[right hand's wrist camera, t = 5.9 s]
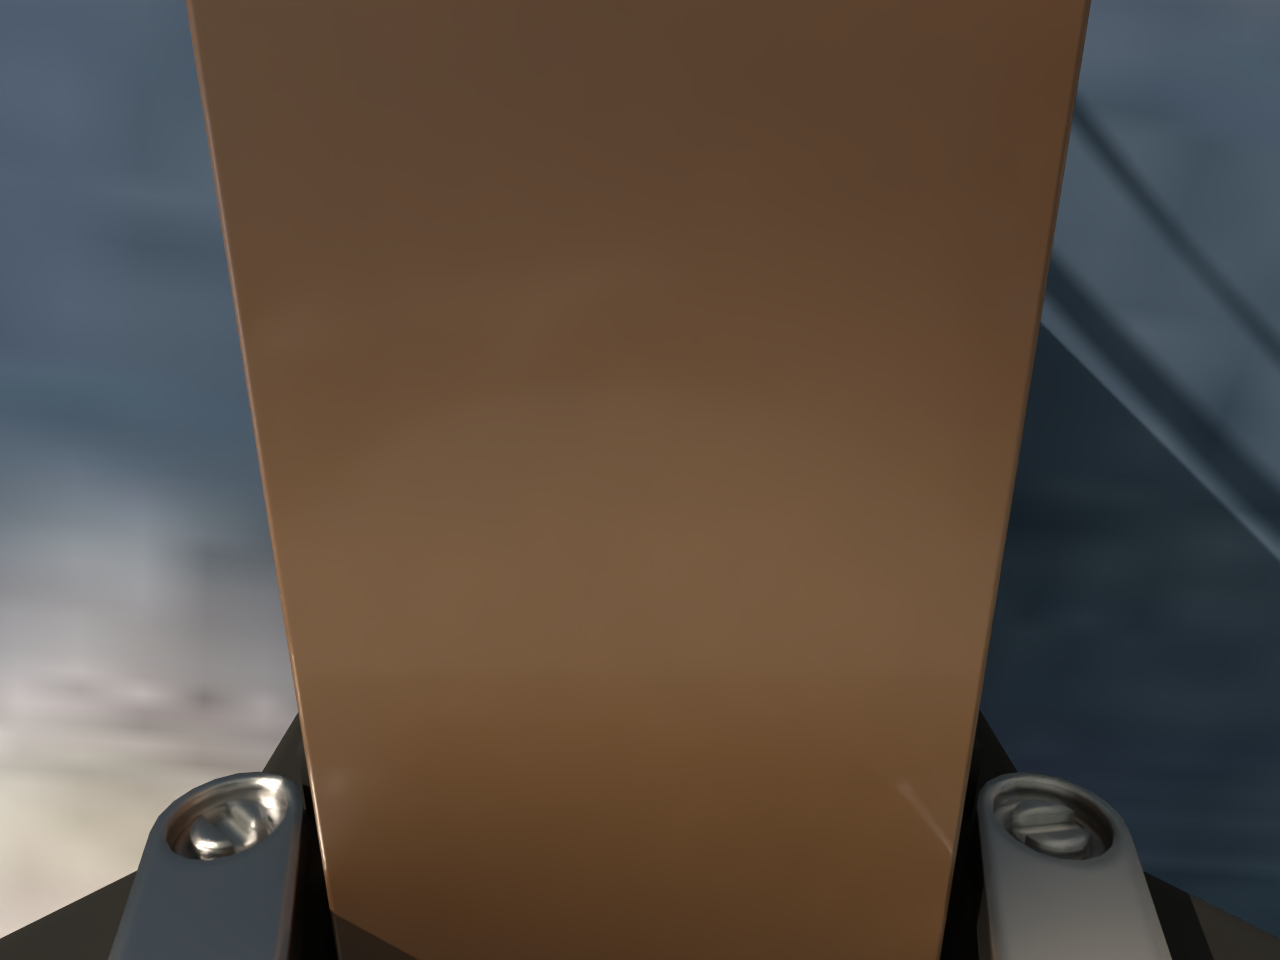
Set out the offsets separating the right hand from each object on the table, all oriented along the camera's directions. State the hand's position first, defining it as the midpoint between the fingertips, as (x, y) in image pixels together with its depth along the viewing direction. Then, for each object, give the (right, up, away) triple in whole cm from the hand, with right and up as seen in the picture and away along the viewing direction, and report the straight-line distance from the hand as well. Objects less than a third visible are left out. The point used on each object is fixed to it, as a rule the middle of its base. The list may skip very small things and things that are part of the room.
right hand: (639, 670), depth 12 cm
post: (0, -28, +14) cm, 31 cm away
